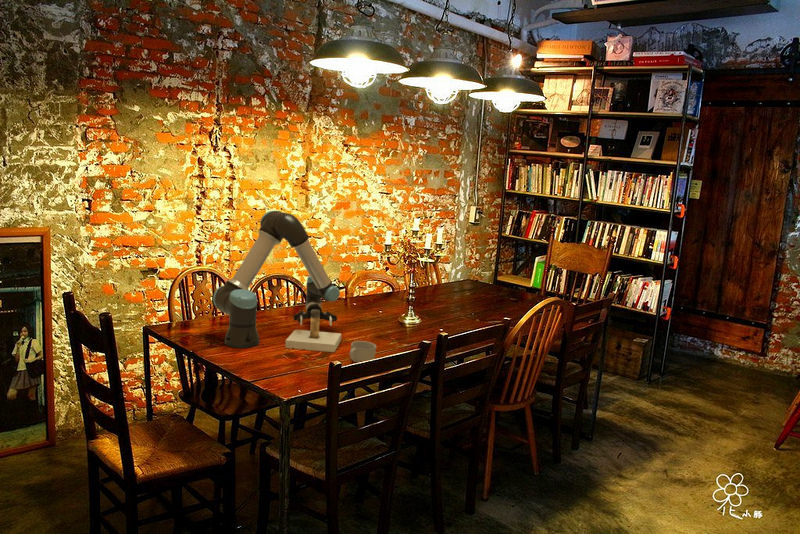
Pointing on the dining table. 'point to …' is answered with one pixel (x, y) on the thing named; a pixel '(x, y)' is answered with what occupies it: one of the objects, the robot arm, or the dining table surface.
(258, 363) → the dining table surface
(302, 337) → the beige socket block
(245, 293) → the robot arm
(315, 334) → the plug
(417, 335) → the dining table surface
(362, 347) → the teacup
